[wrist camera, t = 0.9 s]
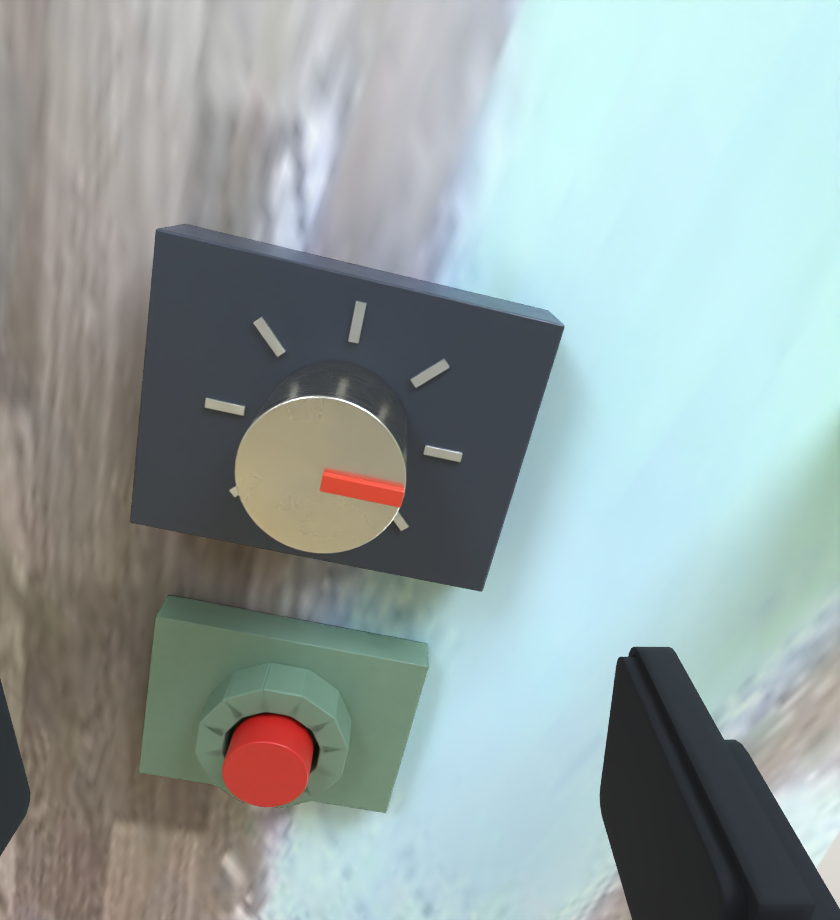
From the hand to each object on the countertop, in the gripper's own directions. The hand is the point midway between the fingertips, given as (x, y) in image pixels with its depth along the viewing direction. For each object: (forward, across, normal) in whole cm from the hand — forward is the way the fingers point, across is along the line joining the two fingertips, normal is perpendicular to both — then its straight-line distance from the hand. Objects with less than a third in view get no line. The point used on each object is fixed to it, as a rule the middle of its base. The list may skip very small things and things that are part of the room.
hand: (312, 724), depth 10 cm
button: (+16, +5, +15) cm, 22 cm away
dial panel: (+18, +1, +1) cm, 19 cm away
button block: (+19, +5, +15) cm, 24 cm away
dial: (+15, +1, +1) cm, 16 cm away
